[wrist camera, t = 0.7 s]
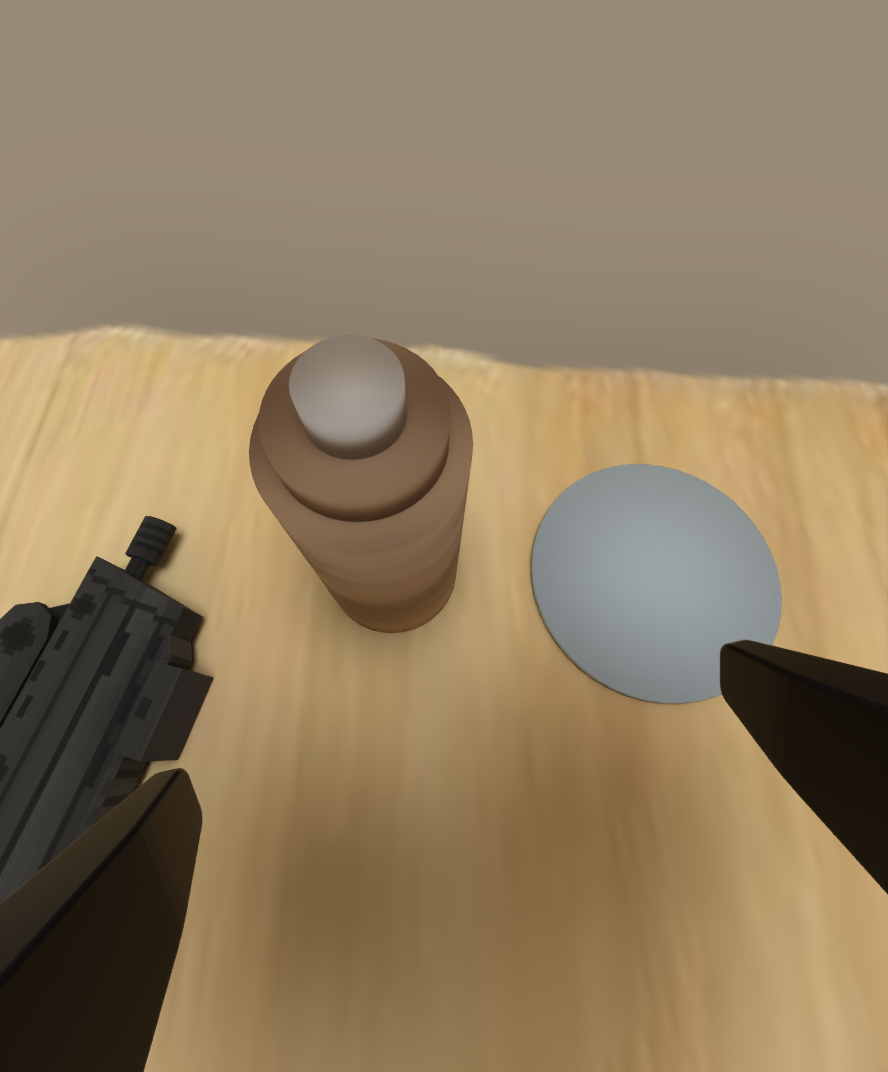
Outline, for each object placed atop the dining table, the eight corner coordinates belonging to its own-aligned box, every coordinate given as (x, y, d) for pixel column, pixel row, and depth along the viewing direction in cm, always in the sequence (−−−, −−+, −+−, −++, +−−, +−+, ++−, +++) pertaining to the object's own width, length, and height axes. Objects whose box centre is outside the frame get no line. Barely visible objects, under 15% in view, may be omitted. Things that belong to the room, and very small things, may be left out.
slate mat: (716, 759, 21) (721, 760, 20) (484, 607, 23) (485, 605, 22) (811, 546, 24) (817, 543, 24) (601, 430, 26) (604, 425, 26)
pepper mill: (469, 615, 23) (513, 469, 10) (342, 646, 22) (223, 531, 10) (439, 502, 25) (444, 261, 12) (321, 527, 24) (200, 302, 12)
